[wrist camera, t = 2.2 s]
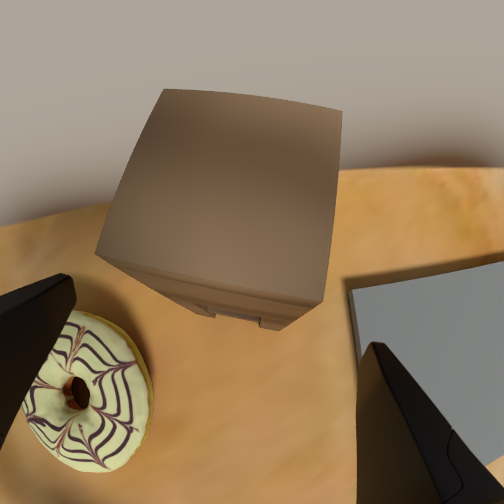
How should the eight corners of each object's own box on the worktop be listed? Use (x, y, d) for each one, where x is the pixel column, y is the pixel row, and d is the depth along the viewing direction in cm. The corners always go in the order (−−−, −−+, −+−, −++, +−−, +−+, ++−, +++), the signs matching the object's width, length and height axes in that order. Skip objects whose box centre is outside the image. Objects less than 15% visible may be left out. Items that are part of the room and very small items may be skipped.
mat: (523, 434, 15) (530, 435, 14) (366, 509, 15) (371, 515, 14) (510, 261, 20) (517, 257, 19) (347, 292, 19) (352, 289, 18)
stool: (278, 331, 19) (322, 301, 6) (196, 313, 19) (94, 254, 7) (293, 251, 20) (342, 111, 8) (215, 236, 21) (163, 89, 8)
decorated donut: (29, 419, 17) (-2, 426, 13) (55, 295, 20) (24, 284, 16) (143, 482, 16) (122, 504, 12) (178, 343, 19) (160, 343, 15)
